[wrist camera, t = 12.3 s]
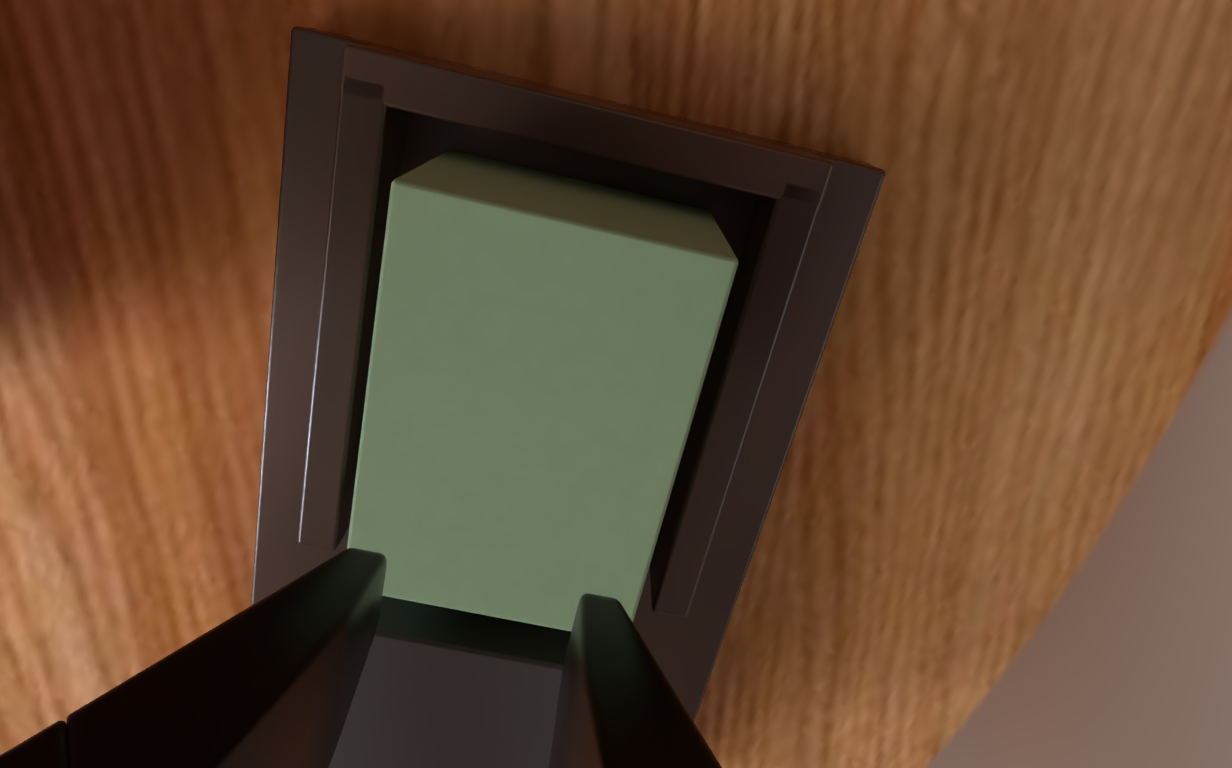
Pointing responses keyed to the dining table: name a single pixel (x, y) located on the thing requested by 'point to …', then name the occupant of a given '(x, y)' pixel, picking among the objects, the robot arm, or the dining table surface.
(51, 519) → the dining table surface
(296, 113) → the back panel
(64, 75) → the dining table surface
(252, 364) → the dining table surface
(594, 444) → the pad
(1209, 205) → the dining table surface
